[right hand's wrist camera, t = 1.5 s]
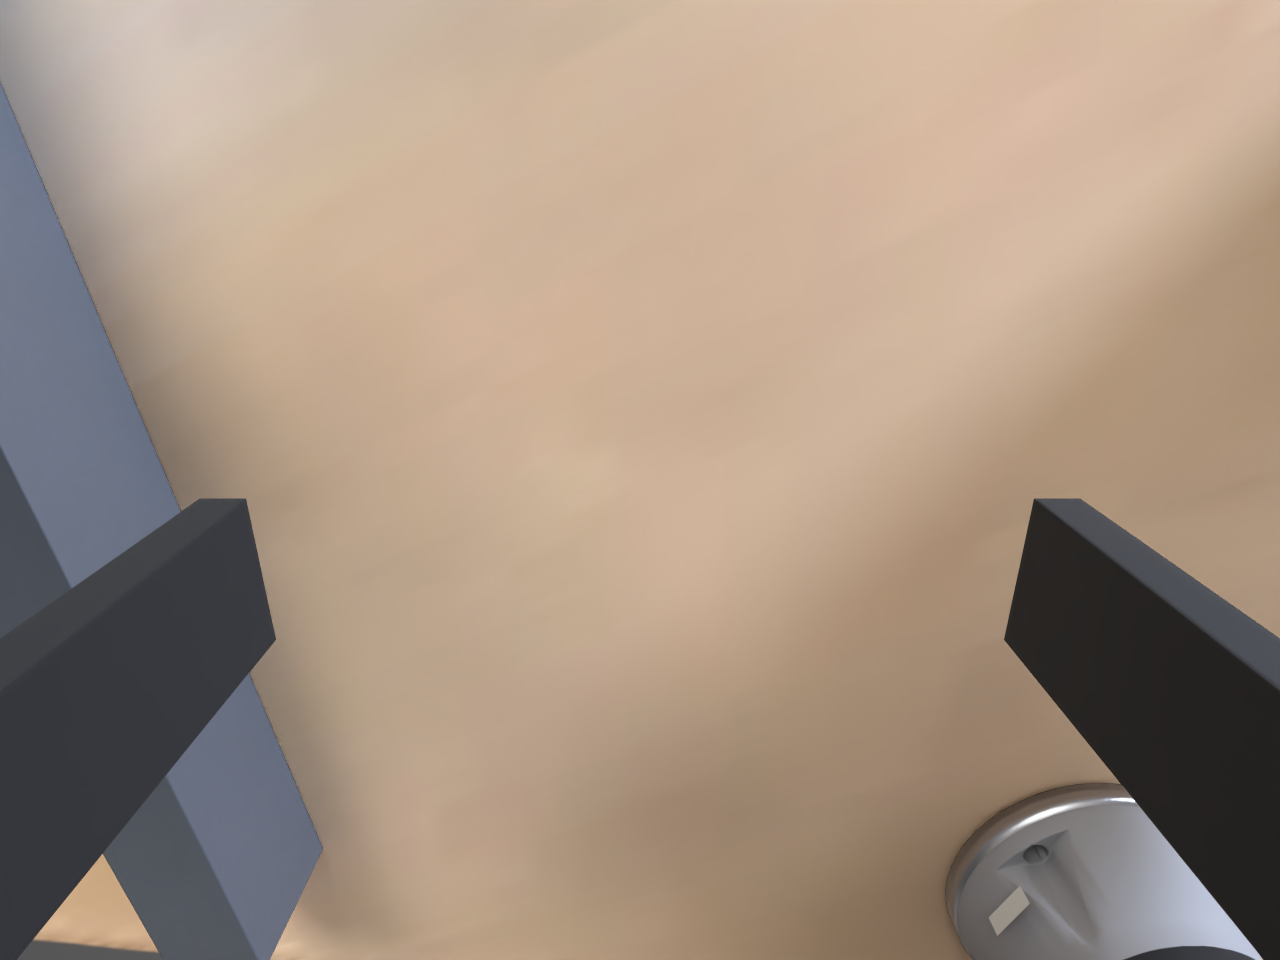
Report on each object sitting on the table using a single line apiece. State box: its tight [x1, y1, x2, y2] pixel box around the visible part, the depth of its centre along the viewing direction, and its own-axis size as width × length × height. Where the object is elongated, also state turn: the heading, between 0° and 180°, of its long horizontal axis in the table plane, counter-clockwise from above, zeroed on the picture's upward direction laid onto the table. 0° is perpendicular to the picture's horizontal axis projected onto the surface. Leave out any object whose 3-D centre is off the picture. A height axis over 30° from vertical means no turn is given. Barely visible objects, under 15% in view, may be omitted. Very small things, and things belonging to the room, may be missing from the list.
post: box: [0, 83, 323, 960], centre depth 32 cm, size 53×5×8 cm, turn 9°
